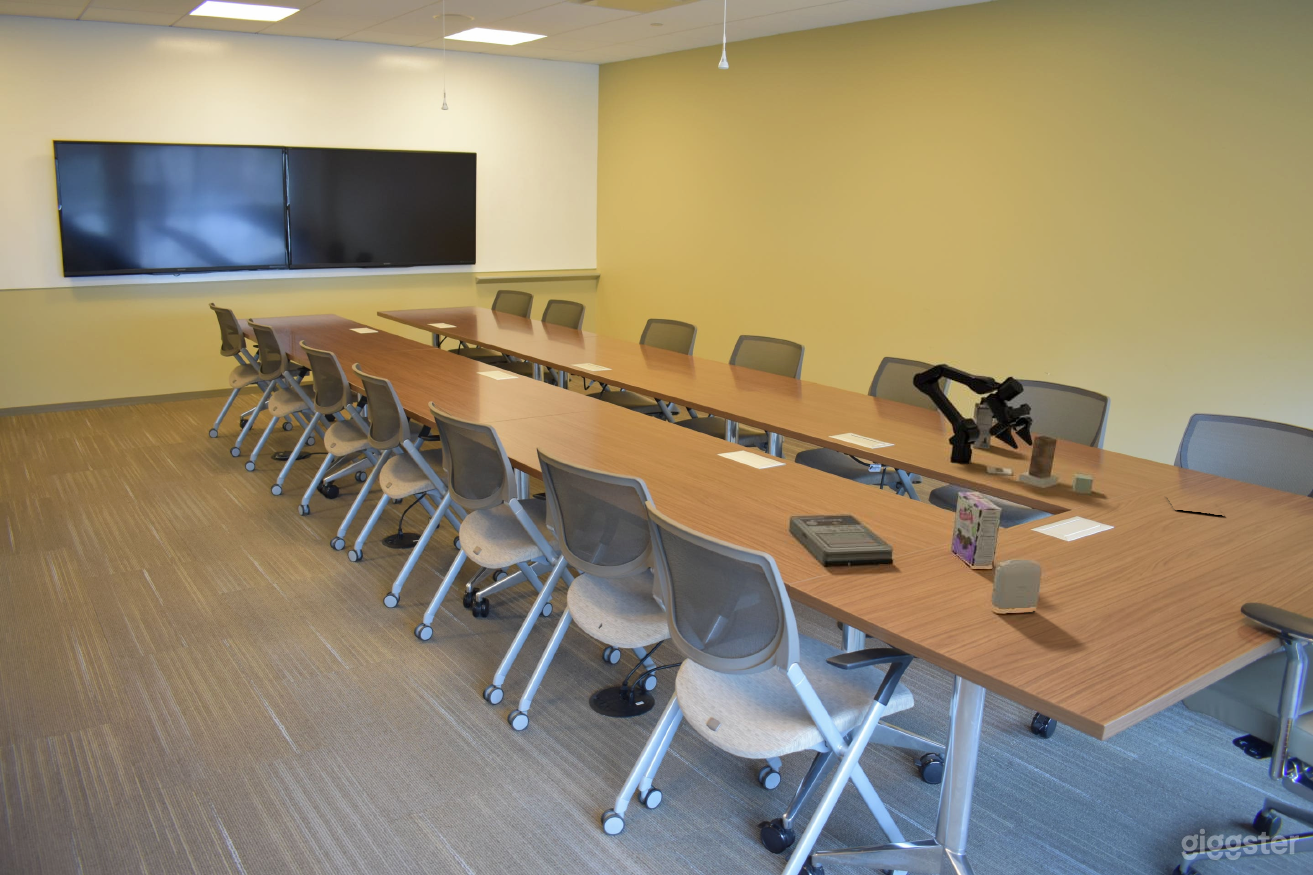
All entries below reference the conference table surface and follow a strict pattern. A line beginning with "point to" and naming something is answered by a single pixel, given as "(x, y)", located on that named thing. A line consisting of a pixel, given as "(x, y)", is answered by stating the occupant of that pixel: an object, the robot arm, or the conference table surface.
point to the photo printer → (1016, 584)
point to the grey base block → (1038, 480)
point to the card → (999, 470)
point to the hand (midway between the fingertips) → (1024, 446)
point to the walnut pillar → (1042, 456)
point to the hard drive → (840, 540)
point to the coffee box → (983, 425)
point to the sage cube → (1082, 483)
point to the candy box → (976, 529)
